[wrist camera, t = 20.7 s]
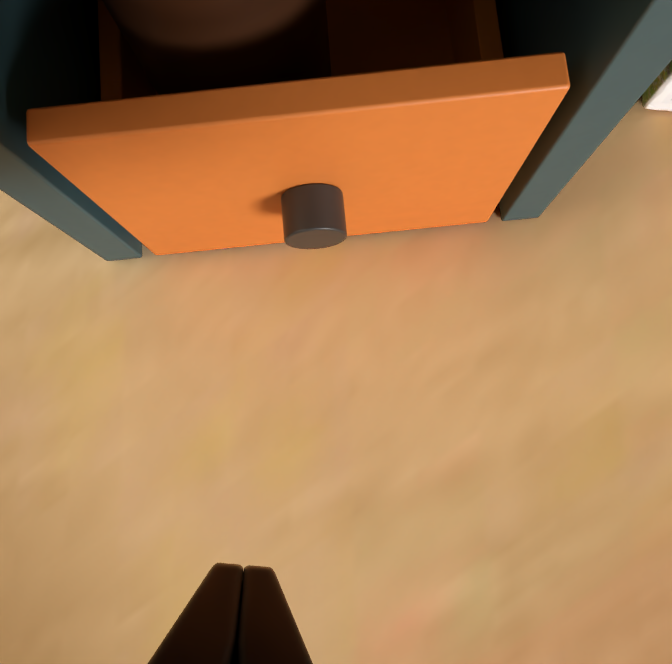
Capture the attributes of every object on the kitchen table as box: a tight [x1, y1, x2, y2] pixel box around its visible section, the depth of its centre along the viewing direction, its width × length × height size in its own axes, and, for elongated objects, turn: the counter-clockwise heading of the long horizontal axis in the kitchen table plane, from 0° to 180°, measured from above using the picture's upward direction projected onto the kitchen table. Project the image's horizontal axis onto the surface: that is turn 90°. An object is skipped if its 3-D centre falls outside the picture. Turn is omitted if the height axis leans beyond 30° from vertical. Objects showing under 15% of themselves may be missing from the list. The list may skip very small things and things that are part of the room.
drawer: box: [26, 0, 570, 255], centre depth 16 cm, size 13×11×8 cm
